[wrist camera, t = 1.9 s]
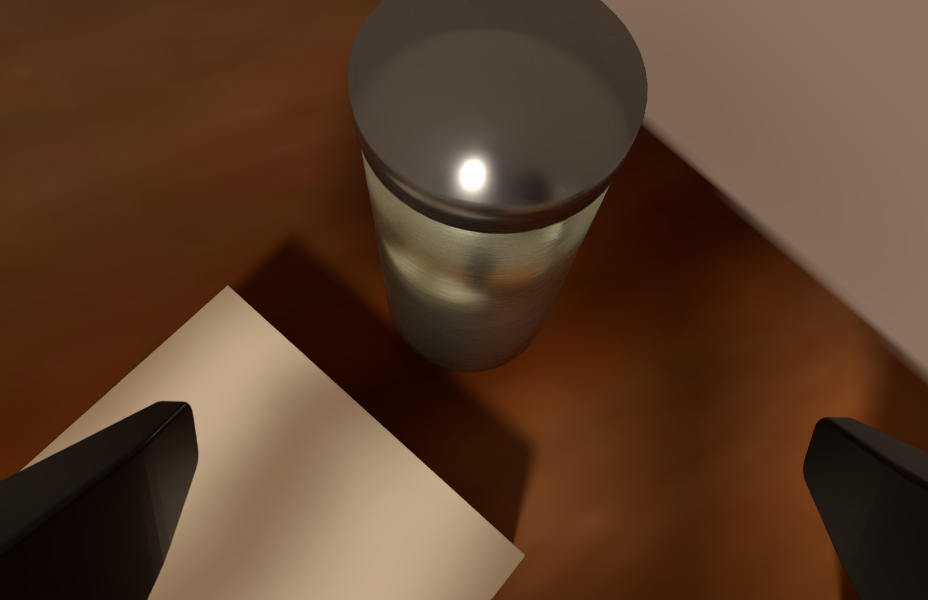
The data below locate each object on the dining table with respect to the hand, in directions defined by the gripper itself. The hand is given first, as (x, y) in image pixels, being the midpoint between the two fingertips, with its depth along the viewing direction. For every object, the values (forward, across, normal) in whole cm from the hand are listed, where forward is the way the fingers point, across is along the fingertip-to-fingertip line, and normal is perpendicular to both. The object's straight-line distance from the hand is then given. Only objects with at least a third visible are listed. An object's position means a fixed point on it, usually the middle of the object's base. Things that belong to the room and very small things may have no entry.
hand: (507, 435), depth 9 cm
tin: (+15, 0, +4) cm, 15 cm away
